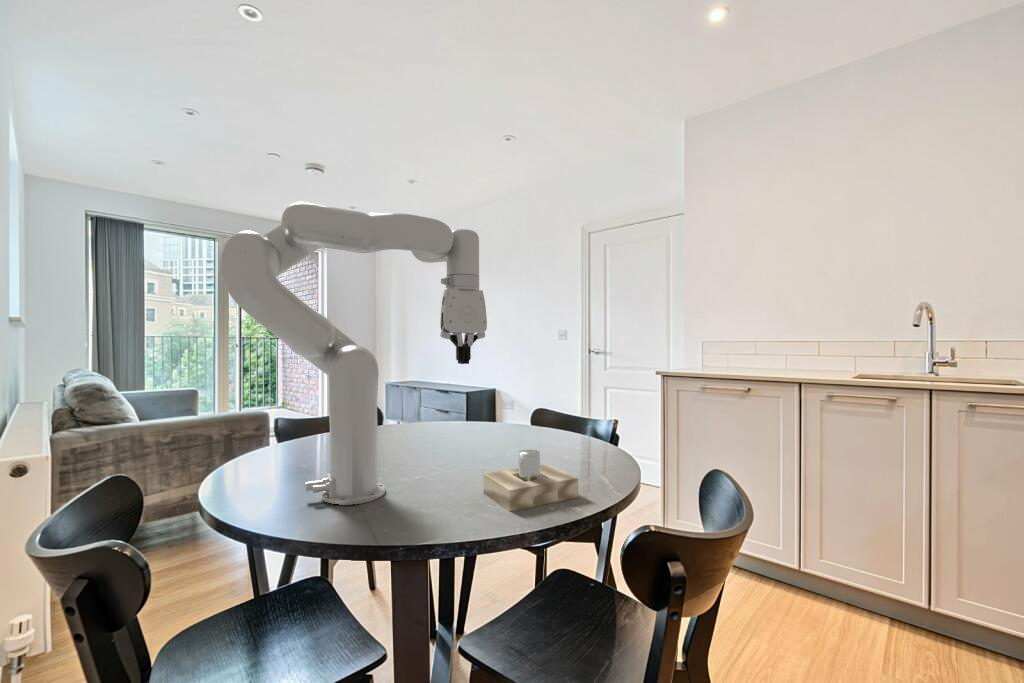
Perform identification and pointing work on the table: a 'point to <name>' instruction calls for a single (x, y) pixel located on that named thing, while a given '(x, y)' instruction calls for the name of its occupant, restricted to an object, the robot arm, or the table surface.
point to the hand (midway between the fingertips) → (463, 363)
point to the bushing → (529, 465)
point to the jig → (530, 488)
